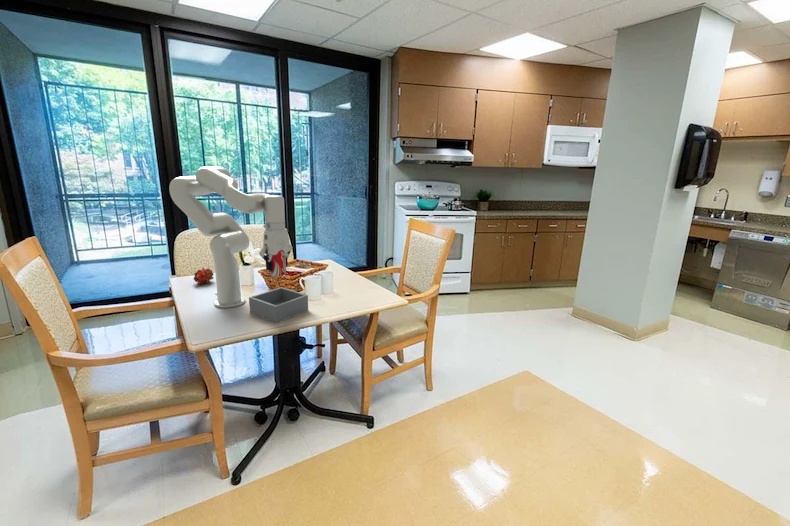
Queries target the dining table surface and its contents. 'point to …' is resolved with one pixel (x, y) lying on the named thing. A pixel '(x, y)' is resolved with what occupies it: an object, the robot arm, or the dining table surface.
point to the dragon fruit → (203, 276)
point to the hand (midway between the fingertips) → (277, 268)
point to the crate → (278, 304)
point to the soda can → (278, 264)
